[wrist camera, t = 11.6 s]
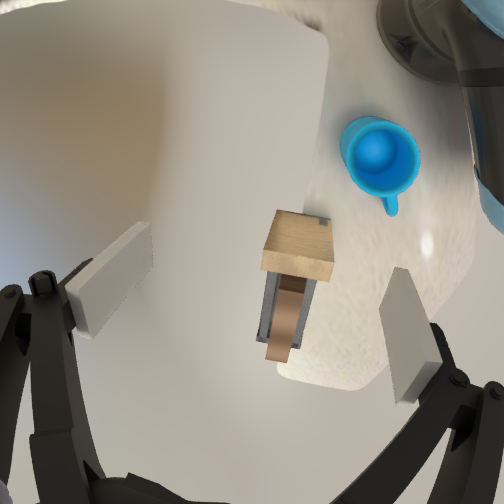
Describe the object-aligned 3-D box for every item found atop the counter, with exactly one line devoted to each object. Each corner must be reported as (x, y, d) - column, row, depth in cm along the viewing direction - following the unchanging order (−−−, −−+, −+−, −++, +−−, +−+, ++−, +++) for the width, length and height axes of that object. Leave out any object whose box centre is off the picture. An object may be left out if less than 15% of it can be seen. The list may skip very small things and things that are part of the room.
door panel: (286, 249, 45) (278, 289, 36) (307, 253, 45) (304, 293, 36) (274, 314, 51) (265, 359, 42) (293, 318, 50) (286, 363, 42)
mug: (331, 125, 36) (336, 131, 29) (391, 110, 34) (410, 113, 27) (357, 211, 41) (365, 236, 34) (412, 197, 38) (431, 219, 31)
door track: (277, 209, 43) (263, 249, 33) (330, 219, 42) (334, 262, 32) (258, 330, 54) (244, 383, 43) (301, 337, 53) (294, 392, 42)
